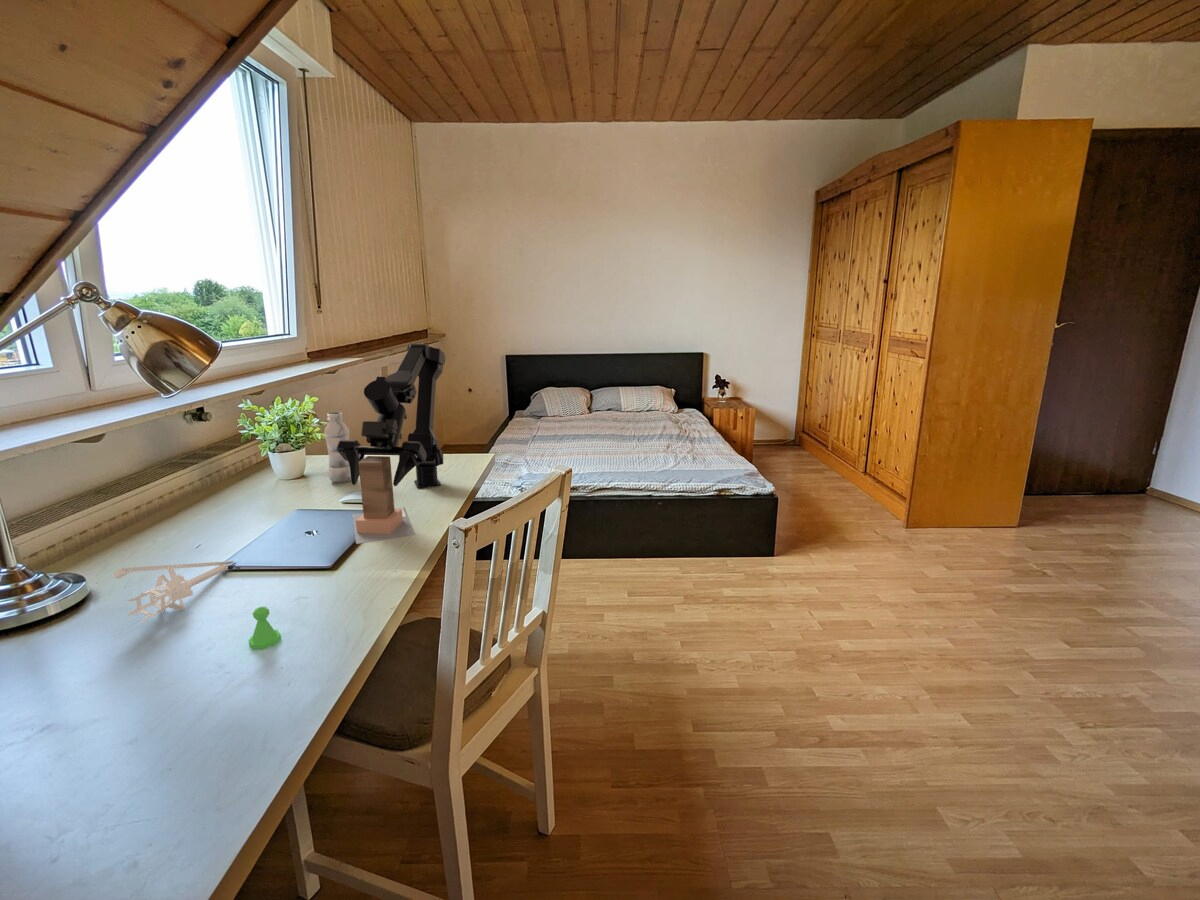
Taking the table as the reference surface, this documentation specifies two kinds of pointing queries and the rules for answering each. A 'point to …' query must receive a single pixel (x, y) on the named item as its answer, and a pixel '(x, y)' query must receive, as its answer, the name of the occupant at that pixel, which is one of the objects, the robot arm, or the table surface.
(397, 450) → the robot arm
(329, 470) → the plastic bottle
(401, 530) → the base board
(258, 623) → the game piece
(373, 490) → the pillar
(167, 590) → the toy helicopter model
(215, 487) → the table surface
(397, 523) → the plinth
